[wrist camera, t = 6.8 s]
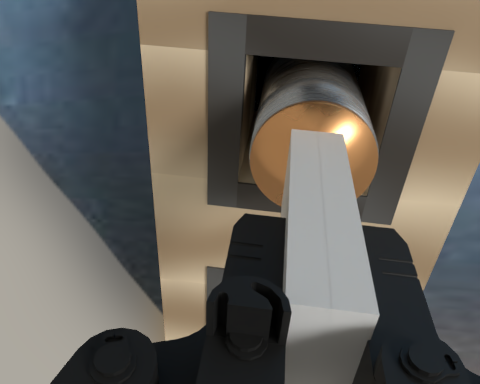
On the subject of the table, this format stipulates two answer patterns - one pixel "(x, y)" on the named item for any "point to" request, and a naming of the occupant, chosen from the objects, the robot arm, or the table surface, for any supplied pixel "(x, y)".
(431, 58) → the block
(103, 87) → the table surface
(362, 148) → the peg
